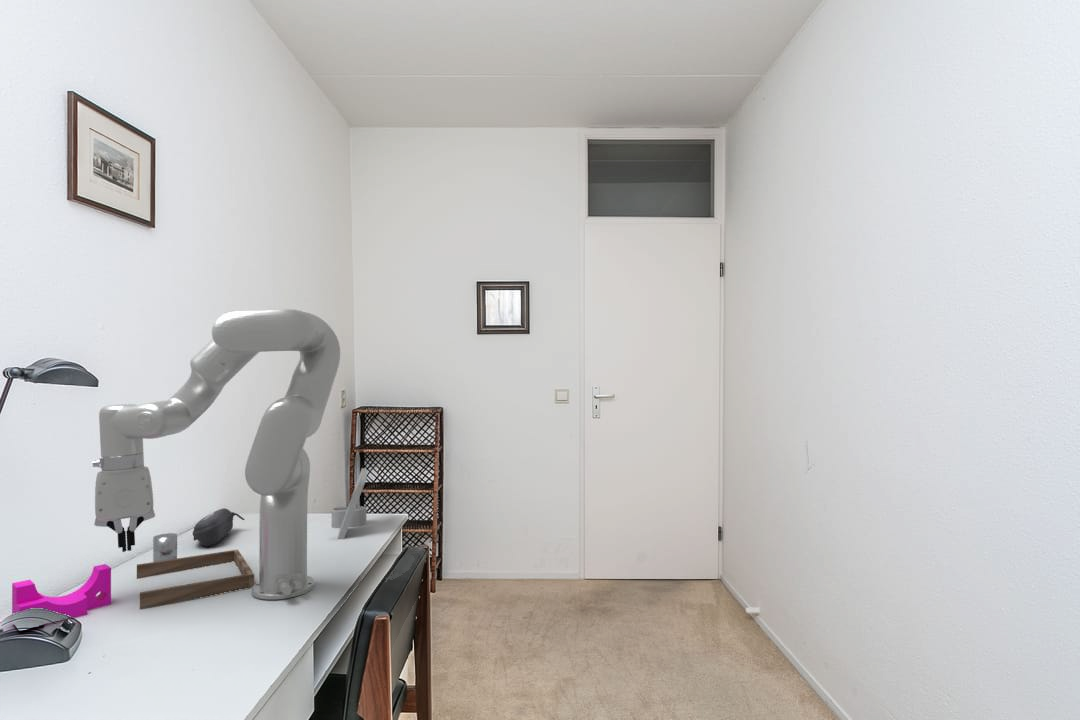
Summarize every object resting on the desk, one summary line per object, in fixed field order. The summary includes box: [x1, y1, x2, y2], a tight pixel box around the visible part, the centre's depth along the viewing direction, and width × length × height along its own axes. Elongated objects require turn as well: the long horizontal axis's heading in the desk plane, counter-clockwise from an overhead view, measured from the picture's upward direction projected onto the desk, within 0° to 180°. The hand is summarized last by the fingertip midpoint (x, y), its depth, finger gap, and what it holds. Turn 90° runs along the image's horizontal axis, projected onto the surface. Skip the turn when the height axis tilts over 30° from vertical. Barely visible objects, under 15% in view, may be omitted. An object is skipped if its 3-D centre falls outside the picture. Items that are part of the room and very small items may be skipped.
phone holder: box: [331, 467, 368, 540], centre depth 179 cm, size 17×10×18 cm, turn 15°
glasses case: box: [192, 508, 245, 548], centre depth 173 cm, size 18×10×8 cm, turn 12°
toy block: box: [11, 563, 112, 618], centre depth 123 cm, size 15×6×8 cm, turn 139°
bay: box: [136, 549, 255, 610], centre depth 140 cm, size 22×21×3 cm
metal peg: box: [152, 532, 178, 562], centre depth 153 cm, size 5×5×7 cm
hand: (126, 549), depth 133 cm, fingers closed
